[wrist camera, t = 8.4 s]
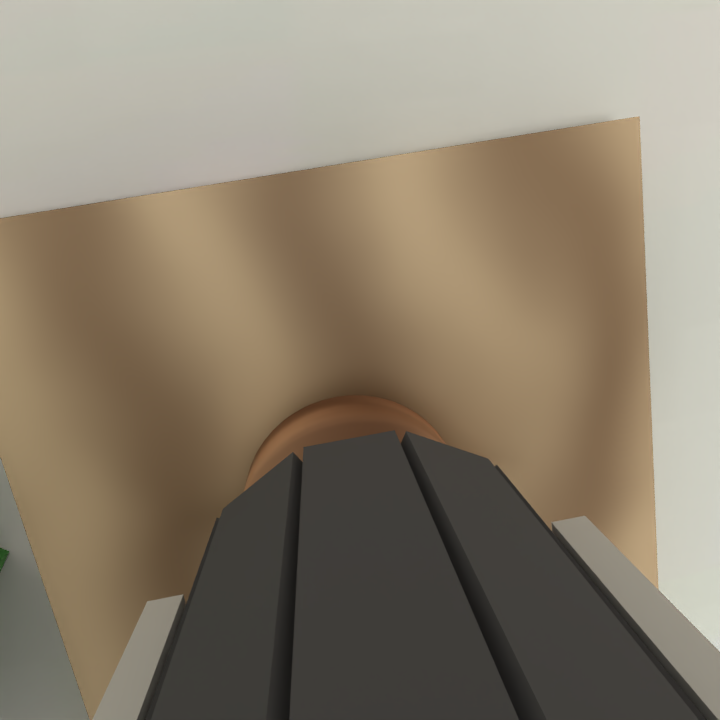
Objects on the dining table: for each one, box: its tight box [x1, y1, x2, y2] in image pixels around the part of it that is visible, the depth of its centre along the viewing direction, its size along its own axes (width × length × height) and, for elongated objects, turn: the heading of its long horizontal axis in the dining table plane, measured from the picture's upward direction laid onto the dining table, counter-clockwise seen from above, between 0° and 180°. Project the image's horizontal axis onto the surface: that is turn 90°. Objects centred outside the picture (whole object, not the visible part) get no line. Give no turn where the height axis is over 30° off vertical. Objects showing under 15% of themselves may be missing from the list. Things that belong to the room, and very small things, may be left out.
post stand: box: [0, 117, 658, 720], centre depth 12 cm, size 20×20×14 cm
